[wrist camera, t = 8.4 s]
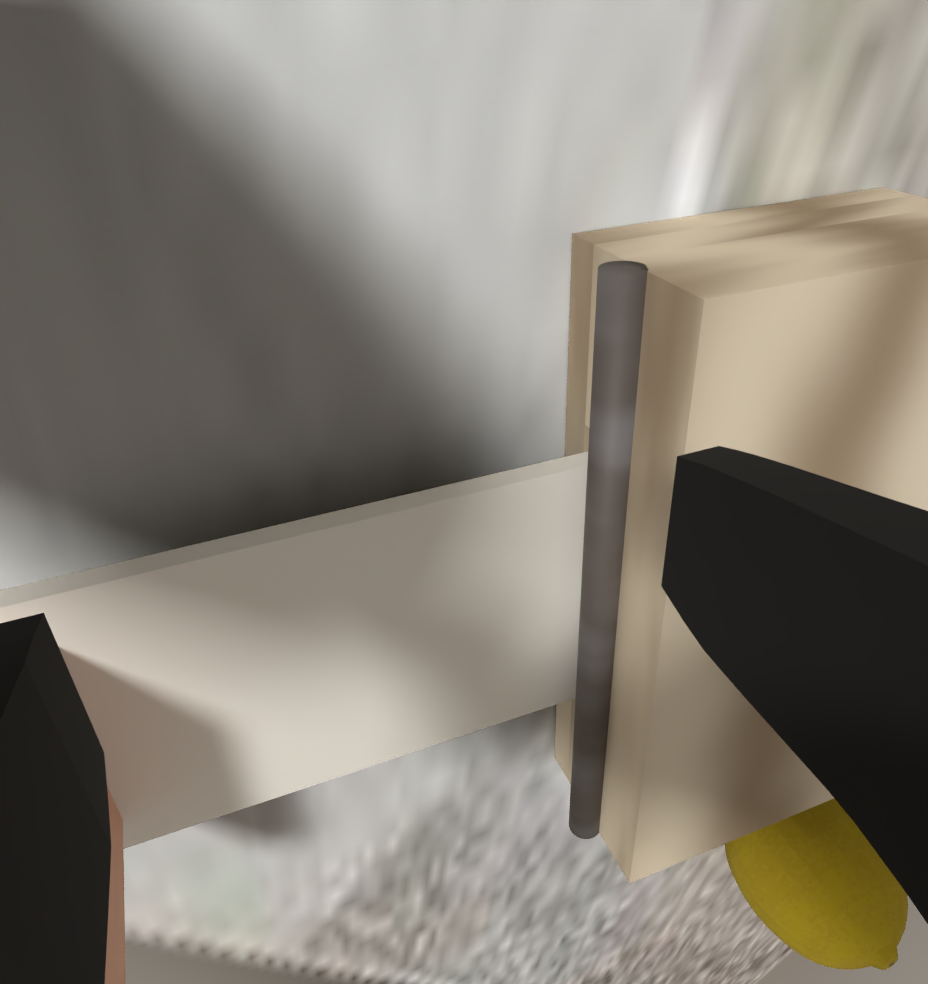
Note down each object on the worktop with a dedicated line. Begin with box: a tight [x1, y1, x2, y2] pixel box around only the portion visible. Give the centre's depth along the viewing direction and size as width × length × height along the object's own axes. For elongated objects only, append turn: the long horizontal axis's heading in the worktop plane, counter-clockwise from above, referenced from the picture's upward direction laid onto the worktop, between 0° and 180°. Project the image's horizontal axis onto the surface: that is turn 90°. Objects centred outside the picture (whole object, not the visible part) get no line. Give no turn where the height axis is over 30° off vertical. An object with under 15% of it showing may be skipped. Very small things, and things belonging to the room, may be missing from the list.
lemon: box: [725, 798, 908, 970], centre depth 30 cm, size 6×6×8 cm
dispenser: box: [555, 188, 928, 883], centre depth 22 cm, size 10×18×5 cm, turn 2°
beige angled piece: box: [0, 452, 588, 984], centre depth 18 cm, size 15×8×6 cm, turn 92°
